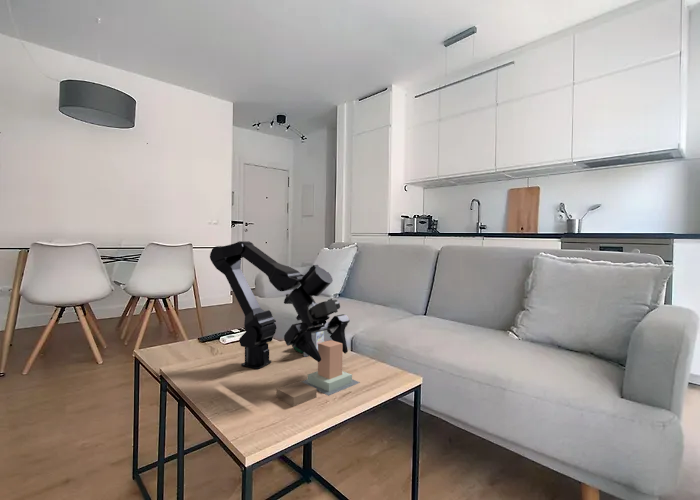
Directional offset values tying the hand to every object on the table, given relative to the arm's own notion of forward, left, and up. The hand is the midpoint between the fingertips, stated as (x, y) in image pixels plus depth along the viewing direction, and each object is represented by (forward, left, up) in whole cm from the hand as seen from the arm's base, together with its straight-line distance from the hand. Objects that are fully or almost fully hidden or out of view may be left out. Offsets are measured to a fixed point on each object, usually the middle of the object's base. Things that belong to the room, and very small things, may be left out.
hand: (333, 356), depth 90 cm
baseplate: (-1, 0, -8) cm, 8 cm away
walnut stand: (-4, -11, -8) cm, 14 cm away
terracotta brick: (-1, 0, -5) cm, 5 cm away
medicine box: (-18, +21, -8) cm, 29 cm away
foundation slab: (-1, 0, -7) cm, 7 cm away
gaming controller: (-23, +25, -8) cm, 35 cm away
